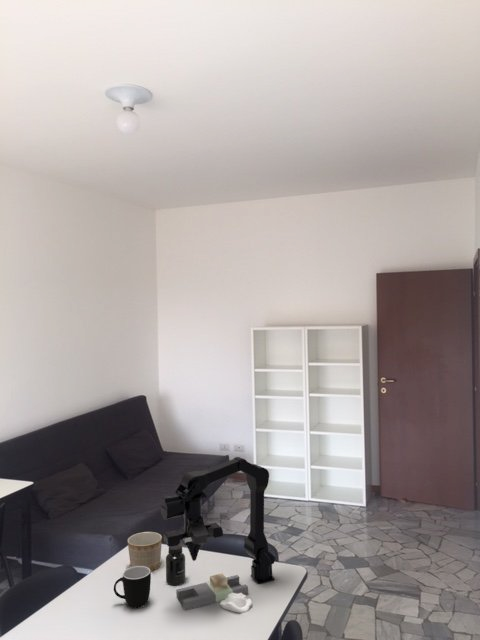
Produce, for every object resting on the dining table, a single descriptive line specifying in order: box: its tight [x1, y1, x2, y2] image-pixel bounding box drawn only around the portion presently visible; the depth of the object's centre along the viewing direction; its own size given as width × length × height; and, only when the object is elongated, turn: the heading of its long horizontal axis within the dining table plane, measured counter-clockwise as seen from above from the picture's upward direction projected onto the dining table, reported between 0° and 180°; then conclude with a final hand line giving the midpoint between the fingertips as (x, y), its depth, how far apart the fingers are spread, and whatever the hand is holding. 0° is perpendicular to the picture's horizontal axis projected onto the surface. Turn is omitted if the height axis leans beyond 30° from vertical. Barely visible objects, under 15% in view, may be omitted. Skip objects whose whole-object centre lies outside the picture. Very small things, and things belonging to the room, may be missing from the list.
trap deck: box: [175, 574, 249, 611], centre depth 176 cm, size 22×9×2 cm, turn 114°
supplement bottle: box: [165, 544, 186, 586], centre depth 186 cm, size 7×7×12 cm
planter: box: [127, 531, 163, 572], centre depth 198 cm, size 13×13×10 cm
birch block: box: [209, 572, 228, 591], centre depth 177 cm, size 4×4×3 cm
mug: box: [113, 566, 152, 609], centre depth 172 cm, size 12×9×10 cm
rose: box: [219, 593, 253, 614], centre depth 169 cm, size 10×4×10 cm
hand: (194, 560), depth 173 cm, fingers closed
